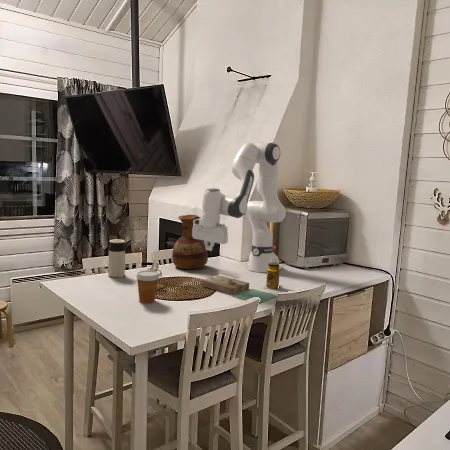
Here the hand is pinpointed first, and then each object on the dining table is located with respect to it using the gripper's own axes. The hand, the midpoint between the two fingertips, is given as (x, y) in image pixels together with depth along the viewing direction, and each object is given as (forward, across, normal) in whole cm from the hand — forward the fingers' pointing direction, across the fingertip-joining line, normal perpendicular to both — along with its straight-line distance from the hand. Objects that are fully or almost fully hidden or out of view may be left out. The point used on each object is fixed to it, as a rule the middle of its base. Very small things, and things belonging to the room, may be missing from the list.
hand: (208, 250), depth 206 cm
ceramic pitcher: (+16, +28, -17) cm, 37 cm away
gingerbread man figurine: (+17, +10, +26) cm, 32 cm away
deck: (+16, -11, 0) cm, 20 cm away
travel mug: (+17, +39, +24) cm, 49 cm away
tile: (+14, -10, 0) cm, 17 cm away
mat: (+16, -28, 0) cm, 33 cm away
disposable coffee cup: (+17, -1, +40) cm, 43 cm away
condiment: (+16, -26, -20) cm, 36 cm away
